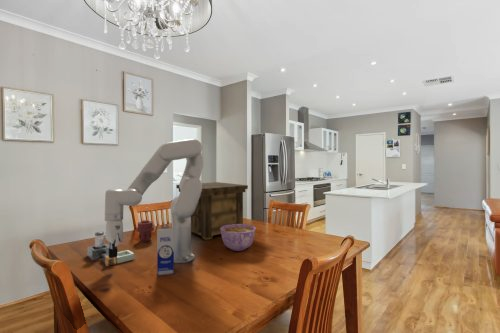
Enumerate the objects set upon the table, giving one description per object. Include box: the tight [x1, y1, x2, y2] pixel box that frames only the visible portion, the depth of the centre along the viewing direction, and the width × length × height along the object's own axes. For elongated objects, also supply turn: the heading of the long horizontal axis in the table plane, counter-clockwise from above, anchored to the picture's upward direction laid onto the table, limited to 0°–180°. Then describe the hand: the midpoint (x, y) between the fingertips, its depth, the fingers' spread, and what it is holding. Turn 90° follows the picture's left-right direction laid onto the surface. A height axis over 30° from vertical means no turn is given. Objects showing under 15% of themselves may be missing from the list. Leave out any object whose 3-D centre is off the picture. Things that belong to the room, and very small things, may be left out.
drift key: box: [101, 253, 117, 267], centre depth 128 cm, size 10×4×4 cm, turn 45°
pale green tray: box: [116, 249, 136, 264], centre depth 133 cm, size 8×8×3 cm
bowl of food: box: [220, 223, 257, 252], centre depth 150 cm, size 20×20×12 cm
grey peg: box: [94, 231, 105, 258], centre depth 138 cm, size 4×4×12 cm
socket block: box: [86, 242, 109, 261], centre depth 138 cm, size 9×9×4 cm
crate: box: [175, 181, 249, 241], centre depth 183 cm, size 35×35×33 cm
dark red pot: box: [136, 219, 155, 243], centre depth 164 cm, size 12×10×10 cm
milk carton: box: [156, 226, 175, 277], centre depth 118 cm, size 7×7×20 cm
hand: (112, 257), depth 121 cm, fingers closed
